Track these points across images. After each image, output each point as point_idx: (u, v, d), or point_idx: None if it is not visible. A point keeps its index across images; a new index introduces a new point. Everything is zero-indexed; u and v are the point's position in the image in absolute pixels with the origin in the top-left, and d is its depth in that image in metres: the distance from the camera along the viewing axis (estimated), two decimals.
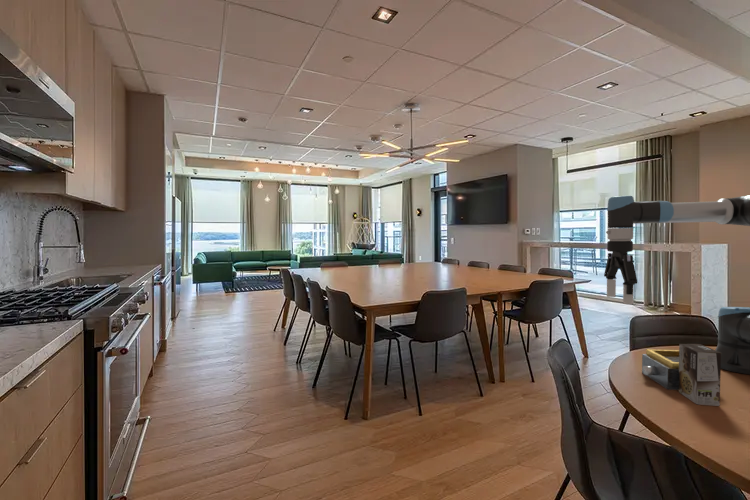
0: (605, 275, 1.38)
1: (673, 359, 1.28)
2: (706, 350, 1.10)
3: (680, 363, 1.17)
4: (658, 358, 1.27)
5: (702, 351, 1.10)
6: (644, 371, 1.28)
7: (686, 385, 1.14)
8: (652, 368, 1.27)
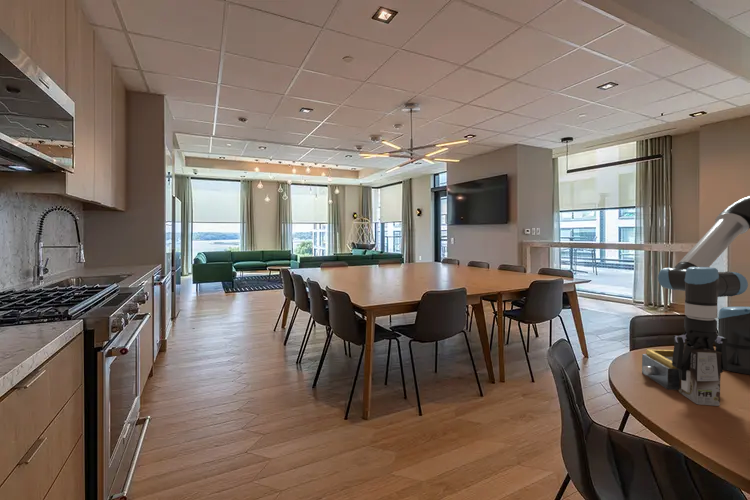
0: None
1: None
2: (706, 350, 1.10)
3: None
4: (658, 358, 1.27)
5: (702, 351, 1.10)
6: (644, 371, 1.28)
7: None
8: (652, 368, 1.27)
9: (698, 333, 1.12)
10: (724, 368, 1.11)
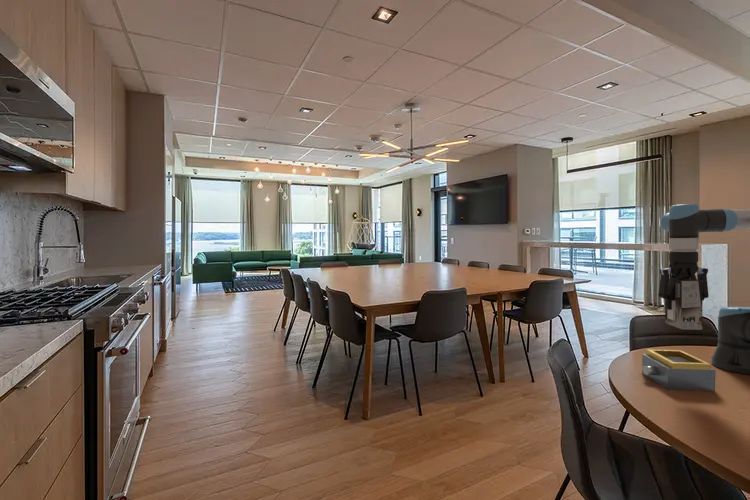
0: None
1: (673, 359, 1.28)
2: (689, 279, 1.20)
3: None
4: (658, 358, 1.27)
5: (686, 280, 1.19)
6: (644, 371, 1.28)
7: None
8: (652, 368, 1.27)
9: (682, 265, 1.21)
10: (705, 296, 1.21)
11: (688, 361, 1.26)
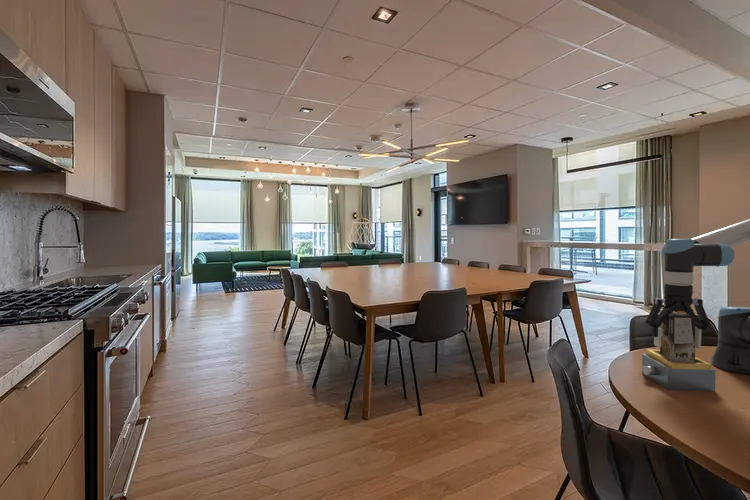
0: None
1: None
2: (682, 316, 1.23)
3: None
4: (658, 358, 1.27)
5: (678, 317, 1.22)
6: (644, 371, 1.28)
7: (665, 349, 1.27)
8: (652, 368, 1.27)
9: (677, 299, 1.24)
10: (708, 325, 1.23)
11: None
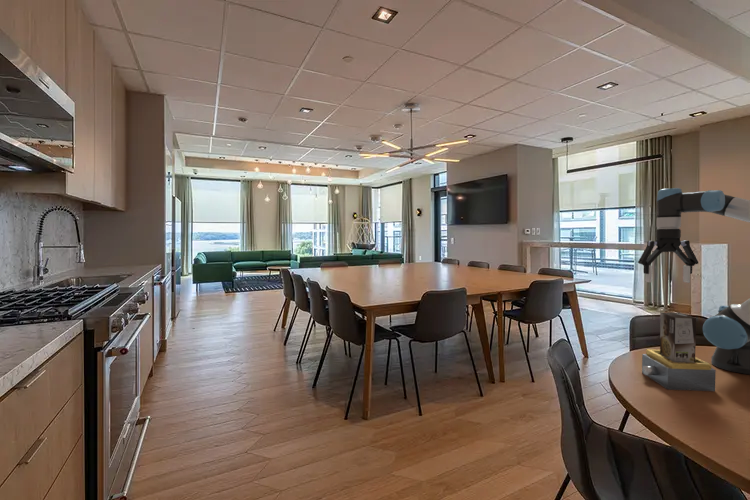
0: None
1: None
2: (683, 316, 1.23)
3: (661, 330, 1.30)
4: (658, 358, 1.27)
5: (679, 317, 1.22)
6: (644, 371, 1.28)
7: (666, 349, 1.27)
8: (652, 368, 1.27)
9: (667, 242, 1.43)
10: (696, 262, 1.42)
11: None
